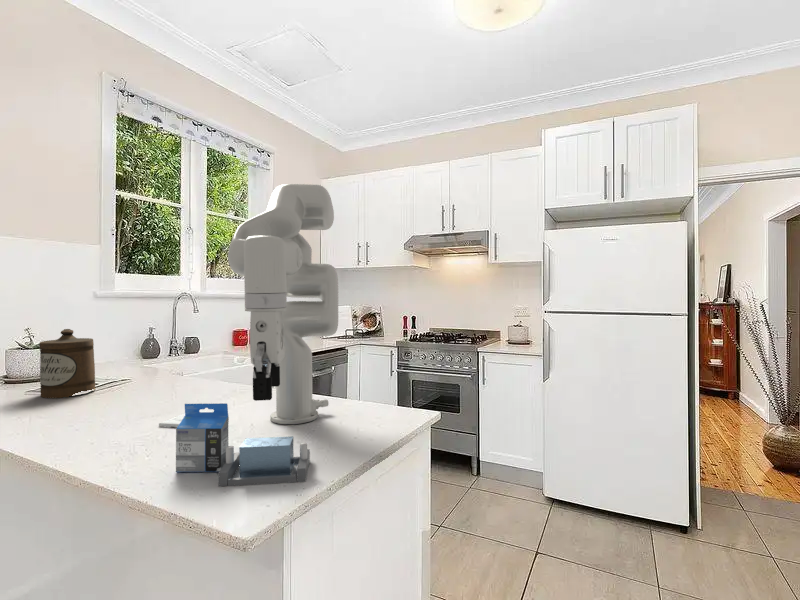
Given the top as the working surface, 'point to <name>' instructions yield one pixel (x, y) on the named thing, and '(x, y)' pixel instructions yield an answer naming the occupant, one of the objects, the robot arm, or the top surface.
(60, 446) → the top surface
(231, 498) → the top surface
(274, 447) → the light blue block
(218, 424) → the label tape box
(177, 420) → the external hard drive
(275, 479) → the dock
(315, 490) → the top surface
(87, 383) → the wooden container
